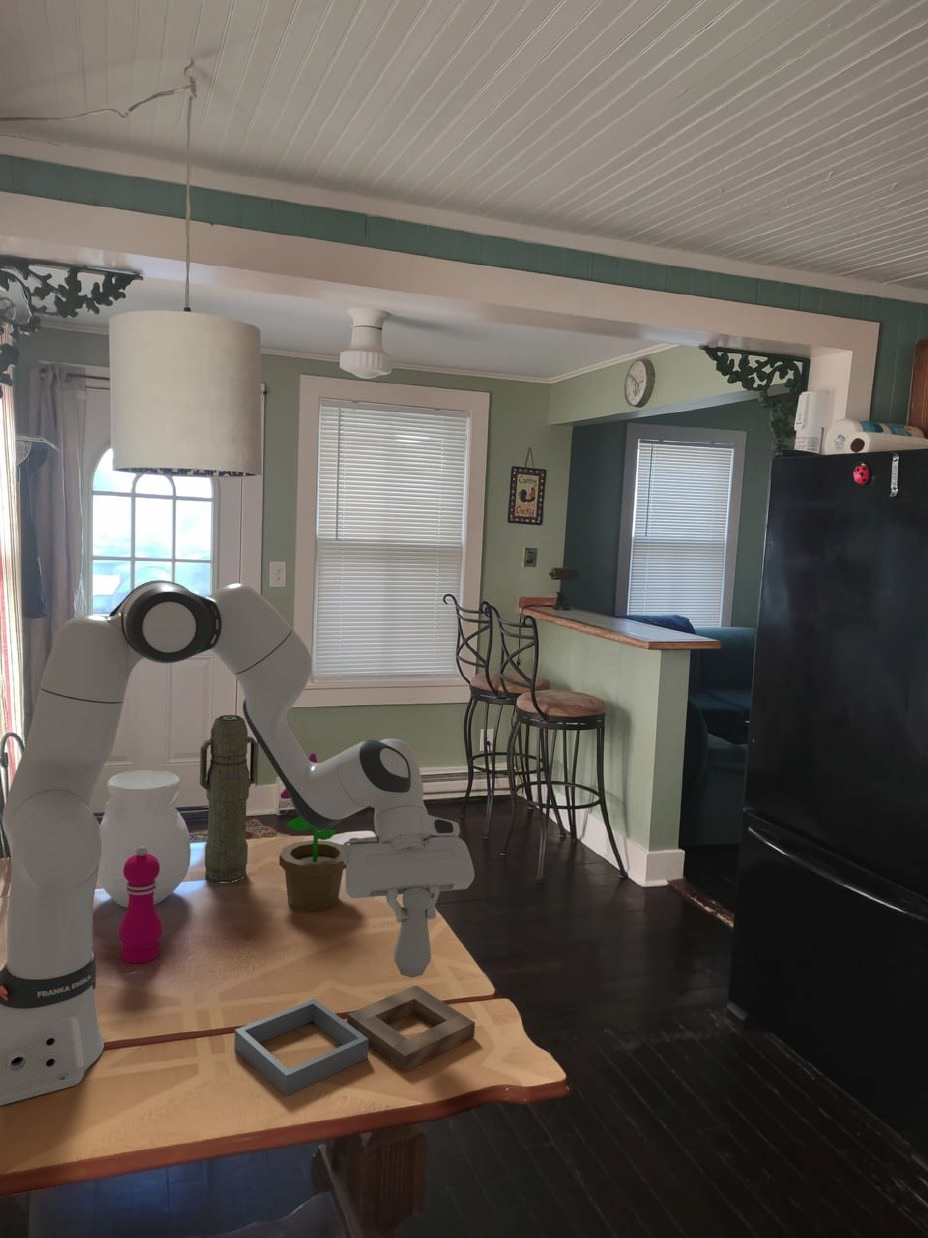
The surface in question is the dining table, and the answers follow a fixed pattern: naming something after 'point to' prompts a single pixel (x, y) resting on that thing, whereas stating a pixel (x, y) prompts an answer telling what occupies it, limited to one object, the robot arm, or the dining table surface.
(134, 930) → the pepper mill
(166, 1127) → the dining table surface
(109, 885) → the pitcher
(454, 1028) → the brown square frame
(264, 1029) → the blue square frame
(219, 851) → the thermos
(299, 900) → the flowerpot
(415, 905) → the salt shaker
